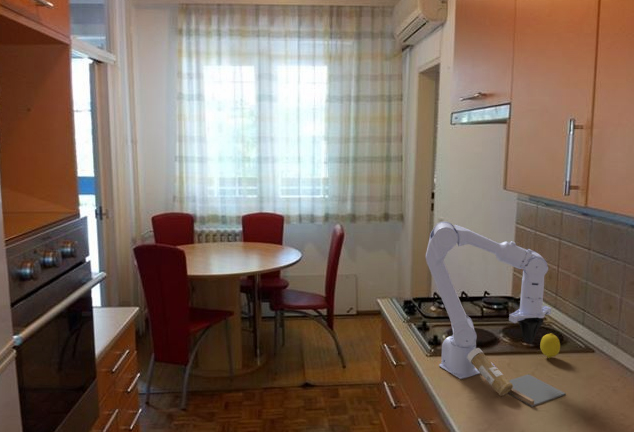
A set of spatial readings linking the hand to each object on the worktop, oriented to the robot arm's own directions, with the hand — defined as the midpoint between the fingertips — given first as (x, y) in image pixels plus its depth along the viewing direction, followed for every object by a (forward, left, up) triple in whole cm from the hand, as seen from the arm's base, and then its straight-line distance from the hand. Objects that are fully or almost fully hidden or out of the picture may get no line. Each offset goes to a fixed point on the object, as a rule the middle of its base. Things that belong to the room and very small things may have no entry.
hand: (528, 342), depth 145 cm
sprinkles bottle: (+6, -14, -8) cm, 18 cm away
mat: (+6, -6, -10) cm, 13 cm away
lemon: (-5, +16, -11) cm, 20 cm away
